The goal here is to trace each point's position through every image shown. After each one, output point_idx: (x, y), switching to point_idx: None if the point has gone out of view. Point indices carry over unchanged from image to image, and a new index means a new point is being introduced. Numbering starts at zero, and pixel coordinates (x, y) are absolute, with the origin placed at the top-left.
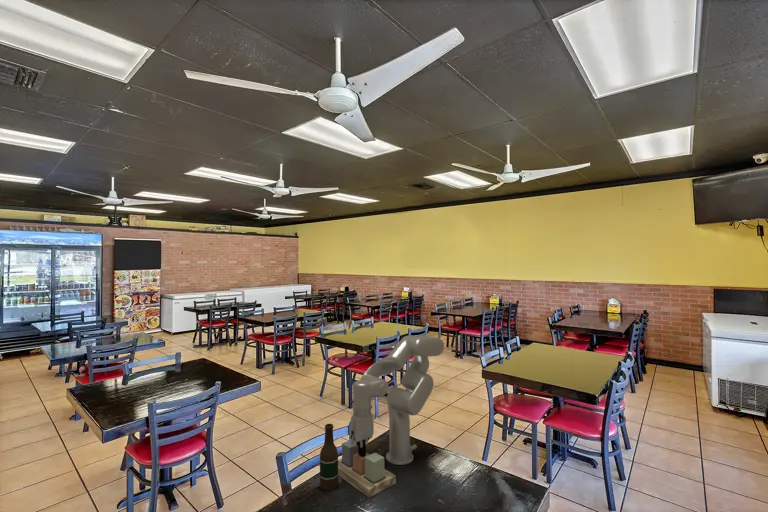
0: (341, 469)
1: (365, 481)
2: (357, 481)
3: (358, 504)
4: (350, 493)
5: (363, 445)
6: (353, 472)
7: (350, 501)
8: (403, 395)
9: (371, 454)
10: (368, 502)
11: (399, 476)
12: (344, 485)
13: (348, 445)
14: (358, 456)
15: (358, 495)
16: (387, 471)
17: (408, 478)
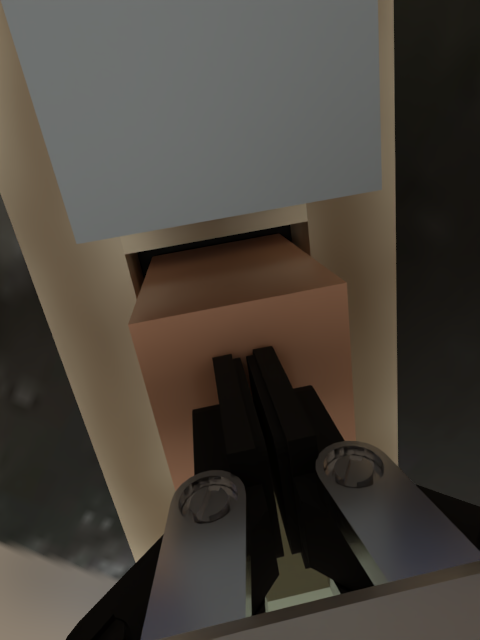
0: (16, 207)
1: (162, 492)
2: (101, 465)
3: (54, 552)
4: (43, 445)
5: (304, 543)
6: (124, 330)
7: (13, 514)
8: None
9: (313, 595)
10: (120, 558)
11: (446, 427)
12: (30, 338)
13: (98, 97)
14: (188, 399)
15: (89, 484)
16: (390, 452)
17: (470, 468)
